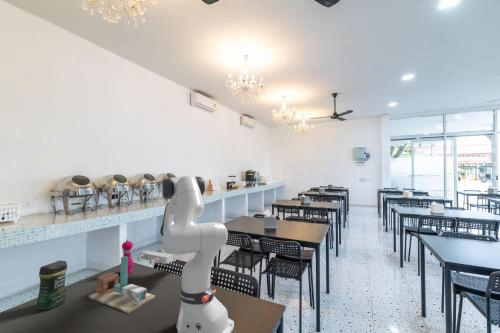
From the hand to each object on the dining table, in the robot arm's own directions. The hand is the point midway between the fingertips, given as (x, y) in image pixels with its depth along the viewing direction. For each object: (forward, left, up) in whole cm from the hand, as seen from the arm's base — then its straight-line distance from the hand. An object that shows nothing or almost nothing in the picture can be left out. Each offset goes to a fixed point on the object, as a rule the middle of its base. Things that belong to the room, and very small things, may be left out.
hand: (144, 260), depth 120 cm
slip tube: (-3, +11, -11) cm, 16 cm away
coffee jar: (+23, +29, -14) cm, 40 cm away
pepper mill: (+25, -9, -14) cm, 30 cm away
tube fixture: (+1, +11, -14) cm, 18 cm away
